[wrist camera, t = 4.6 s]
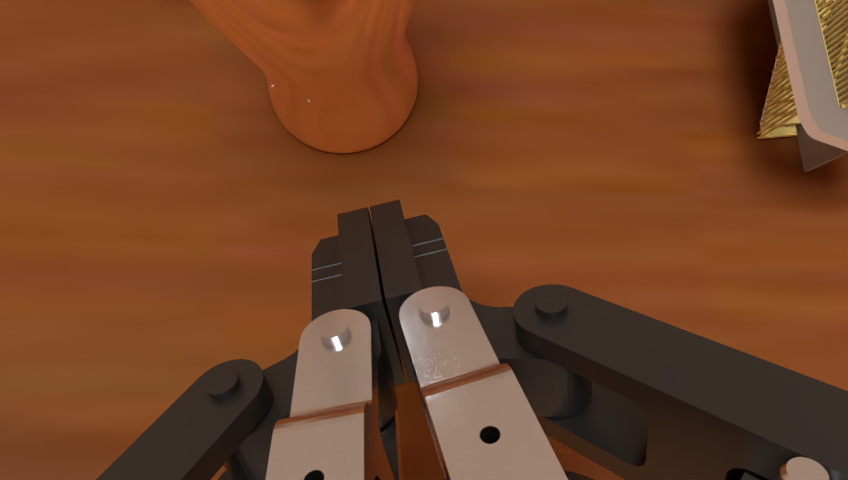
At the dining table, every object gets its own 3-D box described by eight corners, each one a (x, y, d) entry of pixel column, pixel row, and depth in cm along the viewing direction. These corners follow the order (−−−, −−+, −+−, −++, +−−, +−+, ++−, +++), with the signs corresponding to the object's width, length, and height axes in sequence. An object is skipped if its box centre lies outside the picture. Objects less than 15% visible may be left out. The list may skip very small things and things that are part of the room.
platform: (652, 311, 22) (744, 295, 16) (591, -89, 26) (646, -235, 19) (954, 288, 23) (1164, 262, 16) (853, -107, 26) (993, -258, 20)
